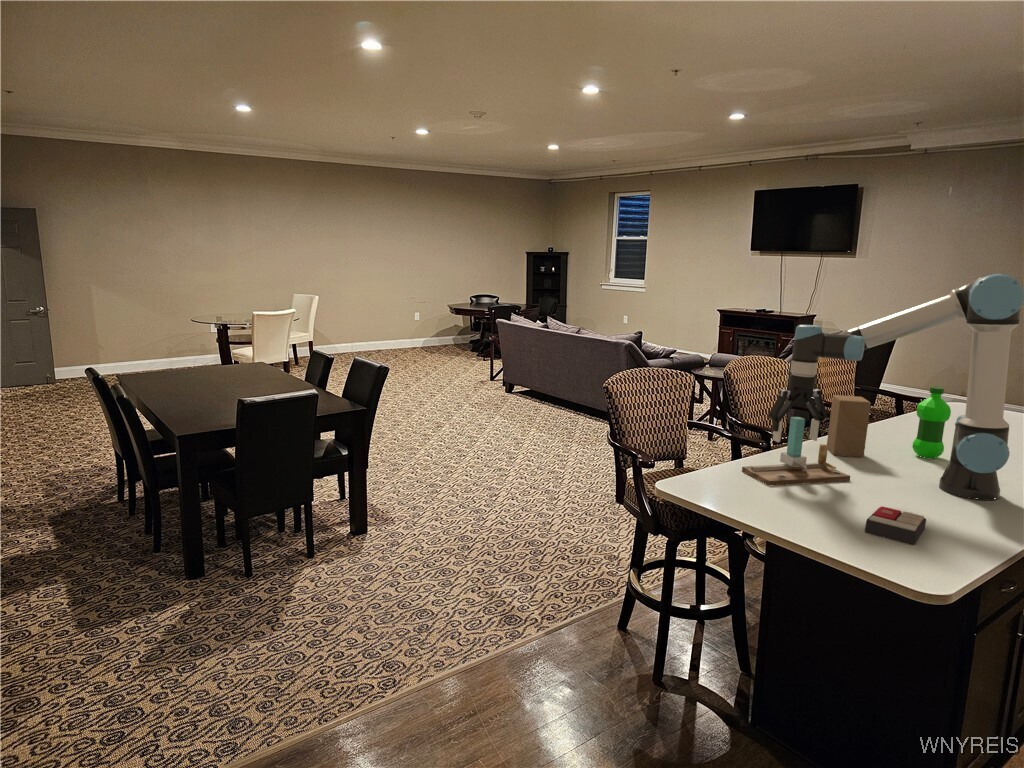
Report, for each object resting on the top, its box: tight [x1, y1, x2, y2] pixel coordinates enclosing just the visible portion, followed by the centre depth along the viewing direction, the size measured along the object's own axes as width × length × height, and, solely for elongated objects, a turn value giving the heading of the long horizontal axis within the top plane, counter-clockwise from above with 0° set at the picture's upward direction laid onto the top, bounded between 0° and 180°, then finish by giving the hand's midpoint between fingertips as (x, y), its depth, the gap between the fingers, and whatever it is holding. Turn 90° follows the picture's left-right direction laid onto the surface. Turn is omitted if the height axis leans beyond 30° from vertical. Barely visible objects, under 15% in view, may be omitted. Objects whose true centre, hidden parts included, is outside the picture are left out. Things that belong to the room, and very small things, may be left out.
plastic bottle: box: [911, 386, 952, 459], centre depth 234 cm, size 10×10×25 cm
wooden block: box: [826, 394, 872, 458], centre depth 236 cm, size 10×10×20 cm
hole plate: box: [741, 443, 851, 486], centre depth 209 cm, size 14×29×9 cm, turn 105°
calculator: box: [864, 505, 927, 546], centre depth 169 cm, size 11×4×15 cm
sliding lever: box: [779, 416, 808, 473], centre depth 210 cm, size 9×5×16 cm, turn 15°
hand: (794, 440), depth 211 cm, fingers open, 13 cm apart
